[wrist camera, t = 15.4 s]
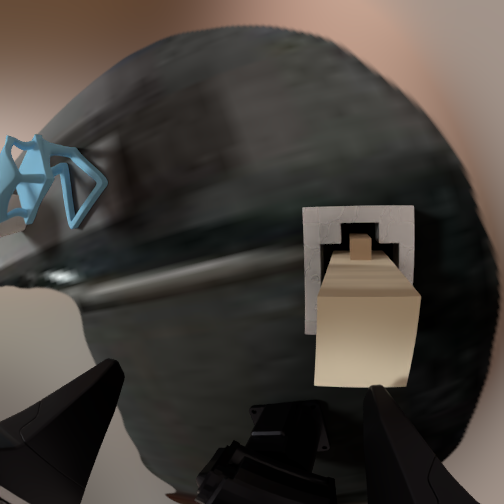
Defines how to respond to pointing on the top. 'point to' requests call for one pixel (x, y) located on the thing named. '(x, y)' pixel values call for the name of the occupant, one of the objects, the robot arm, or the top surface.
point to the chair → (42, 179)
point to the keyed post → (365, 320)
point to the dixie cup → (12, 219)
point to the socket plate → (329, 232)
